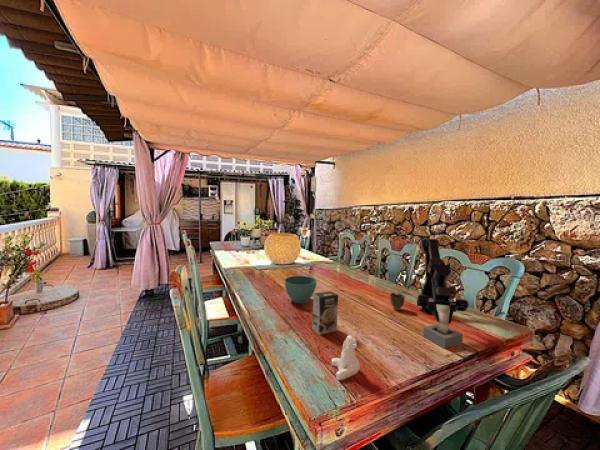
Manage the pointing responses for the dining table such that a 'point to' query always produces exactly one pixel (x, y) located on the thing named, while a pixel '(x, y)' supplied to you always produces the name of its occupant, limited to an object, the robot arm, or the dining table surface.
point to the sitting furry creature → (347, 360)
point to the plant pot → (300, 288)
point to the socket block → (443, 337)
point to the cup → (397, 300)
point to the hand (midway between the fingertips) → (444, 322)
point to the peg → (443, 319)
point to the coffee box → (325, 312)
